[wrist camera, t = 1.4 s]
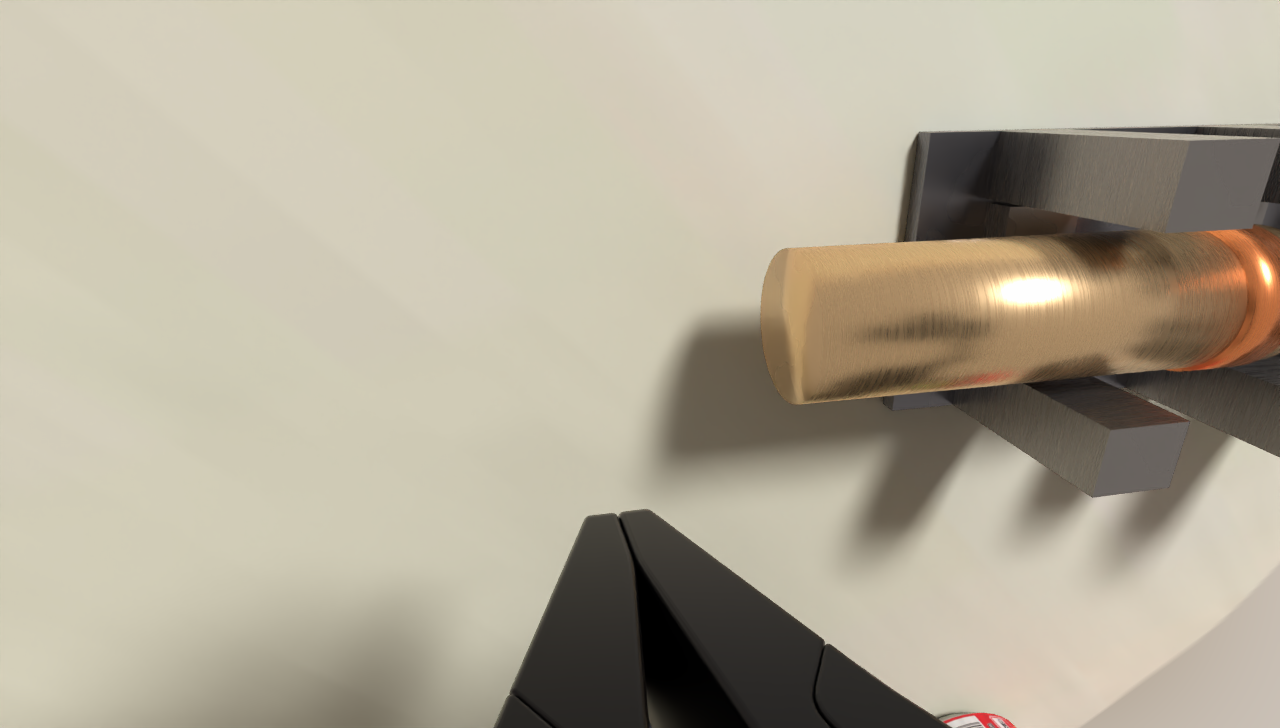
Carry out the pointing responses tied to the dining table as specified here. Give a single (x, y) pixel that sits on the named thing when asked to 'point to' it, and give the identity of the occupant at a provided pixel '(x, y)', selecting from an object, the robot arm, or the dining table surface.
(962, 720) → the soda can
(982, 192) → the grey holder rack
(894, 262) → the tube
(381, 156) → the dining table surface
